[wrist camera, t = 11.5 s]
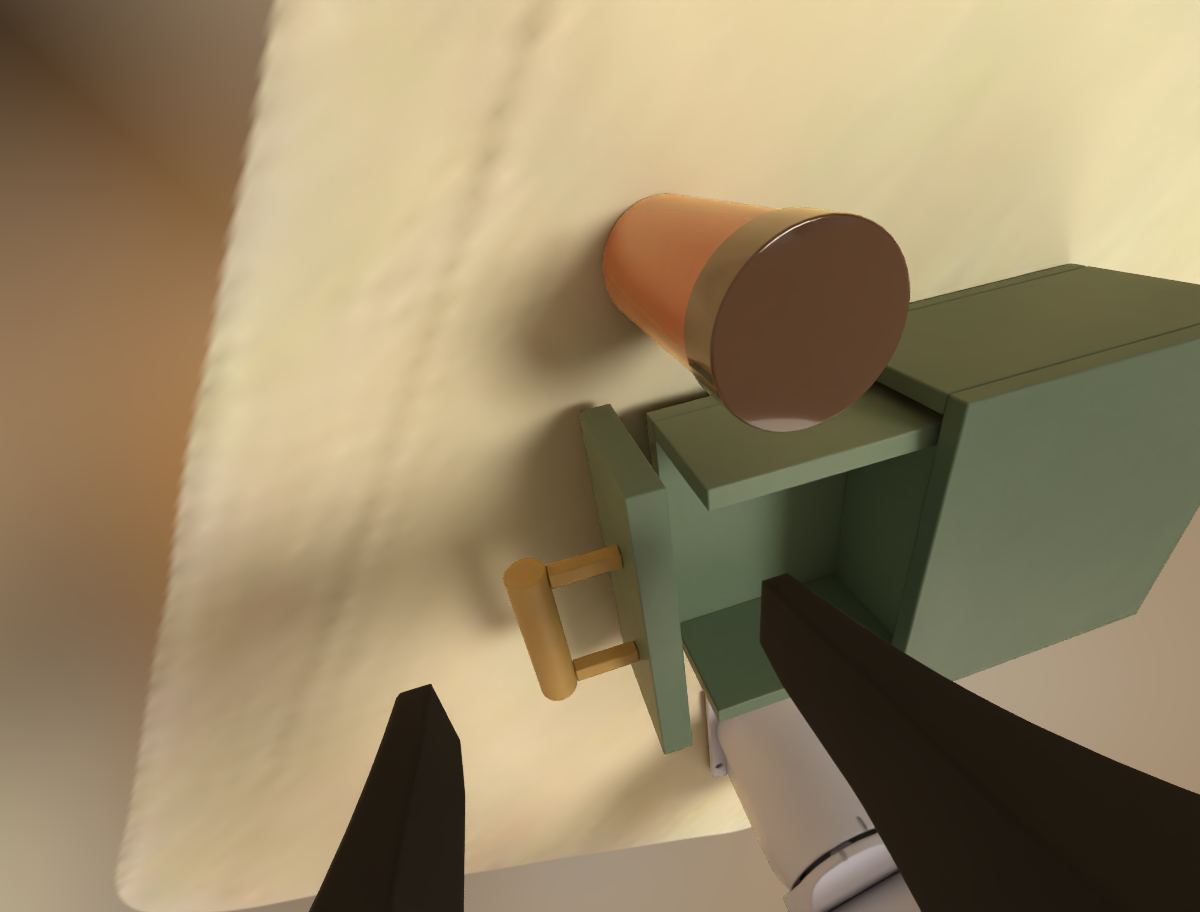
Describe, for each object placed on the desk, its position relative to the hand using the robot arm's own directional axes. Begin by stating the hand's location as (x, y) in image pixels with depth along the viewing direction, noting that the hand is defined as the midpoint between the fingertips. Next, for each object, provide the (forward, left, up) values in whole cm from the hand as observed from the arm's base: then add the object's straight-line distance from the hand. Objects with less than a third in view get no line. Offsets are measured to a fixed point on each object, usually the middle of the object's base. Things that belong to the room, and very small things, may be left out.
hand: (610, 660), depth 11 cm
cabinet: (-5, -17, -10) cm, 21 cm away
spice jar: (+6, -5, -10) cm, 13 cm away
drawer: (-5, -5, -9) cm, 12 cm away
